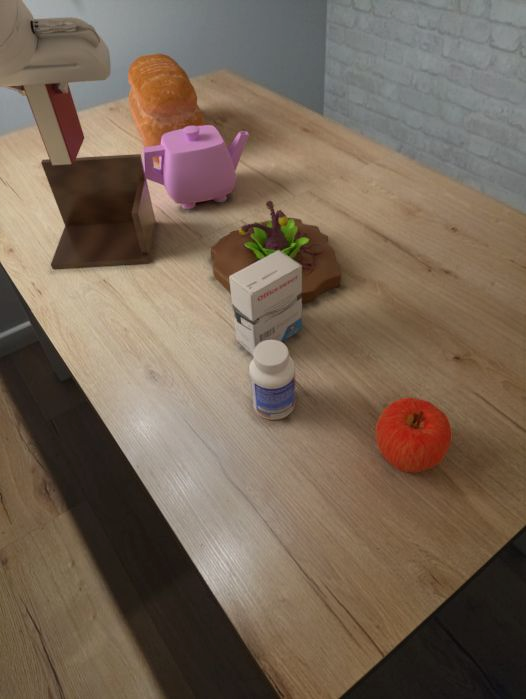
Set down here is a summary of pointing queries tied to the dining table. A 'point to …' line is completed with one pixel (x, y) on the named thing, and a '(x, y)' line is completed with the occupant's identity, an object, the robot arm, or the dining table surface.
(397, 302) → the dining table surface
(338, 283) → the plant
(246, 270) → the ink box
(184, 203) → the teapot
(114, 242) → the book stand
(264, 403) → the pill bottle
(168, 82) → the bread
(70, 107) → the book
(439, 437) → the apple
